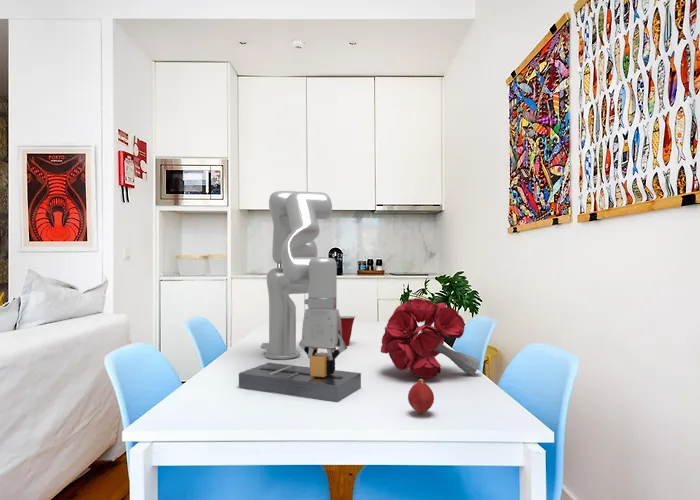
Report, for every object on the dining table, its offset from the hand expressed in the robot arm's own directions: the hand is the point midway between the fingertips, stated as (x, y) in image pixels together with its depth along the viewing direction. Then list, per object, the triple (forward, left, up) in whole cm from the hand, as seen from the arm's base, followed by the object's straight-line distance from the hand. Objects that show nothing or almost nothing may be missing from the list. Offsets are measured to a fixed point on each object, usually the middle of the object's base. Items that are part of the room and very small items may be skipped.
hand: (322, 372), depth 127 cm
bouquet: (+21, +28, -5) cm, 36 cm away
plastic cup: (-24, +61, -5) cm, 66 cm away
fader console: (-7, 0, -5) cm, 8 cm away
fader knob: (0, 0, 0) cm, 0 cm away
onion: (+29, -7, -5) cm, 30 cm away
